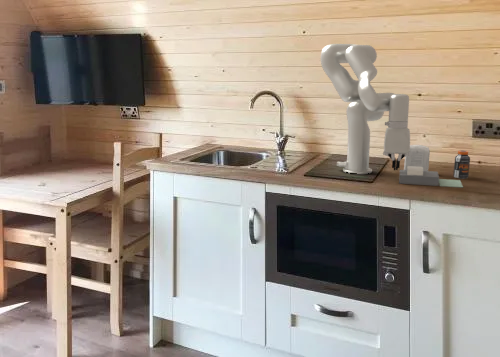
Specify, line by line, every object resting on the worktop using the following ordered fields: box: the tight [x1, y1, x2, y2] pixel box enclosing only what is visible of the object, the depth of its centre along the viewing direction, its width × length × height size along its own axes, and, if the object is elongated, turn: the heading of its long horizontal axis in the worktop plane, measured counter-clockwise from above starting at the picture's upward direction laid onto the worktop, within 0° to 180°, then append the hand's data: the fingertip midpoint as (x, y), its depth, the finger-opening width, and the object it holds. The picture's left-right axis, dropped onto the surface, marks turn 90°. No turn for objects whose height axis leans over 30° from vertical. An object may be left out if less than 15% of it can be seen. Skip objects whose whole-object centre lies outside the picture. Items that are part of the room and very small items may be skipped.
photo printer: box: [403, 144, 431, 171], centre depth 232 cm, size 10×4×12 cm, turn 67°
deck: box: [398, 169, 440, 187], centre depth 216 cm, size 15×11×4 cm
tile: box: [407, 166, 423, 176], centre depth 215 cm, size 6×8×2 cm
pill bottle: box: [453, 149, 471, 179], centre depth 223 cm, size 6×6×11 cm
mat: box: [438, 178, 464, 188], centre depth 213 cm, size 8×12×1 cm
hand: (395, 169), depth 217 cm, fingers closed
